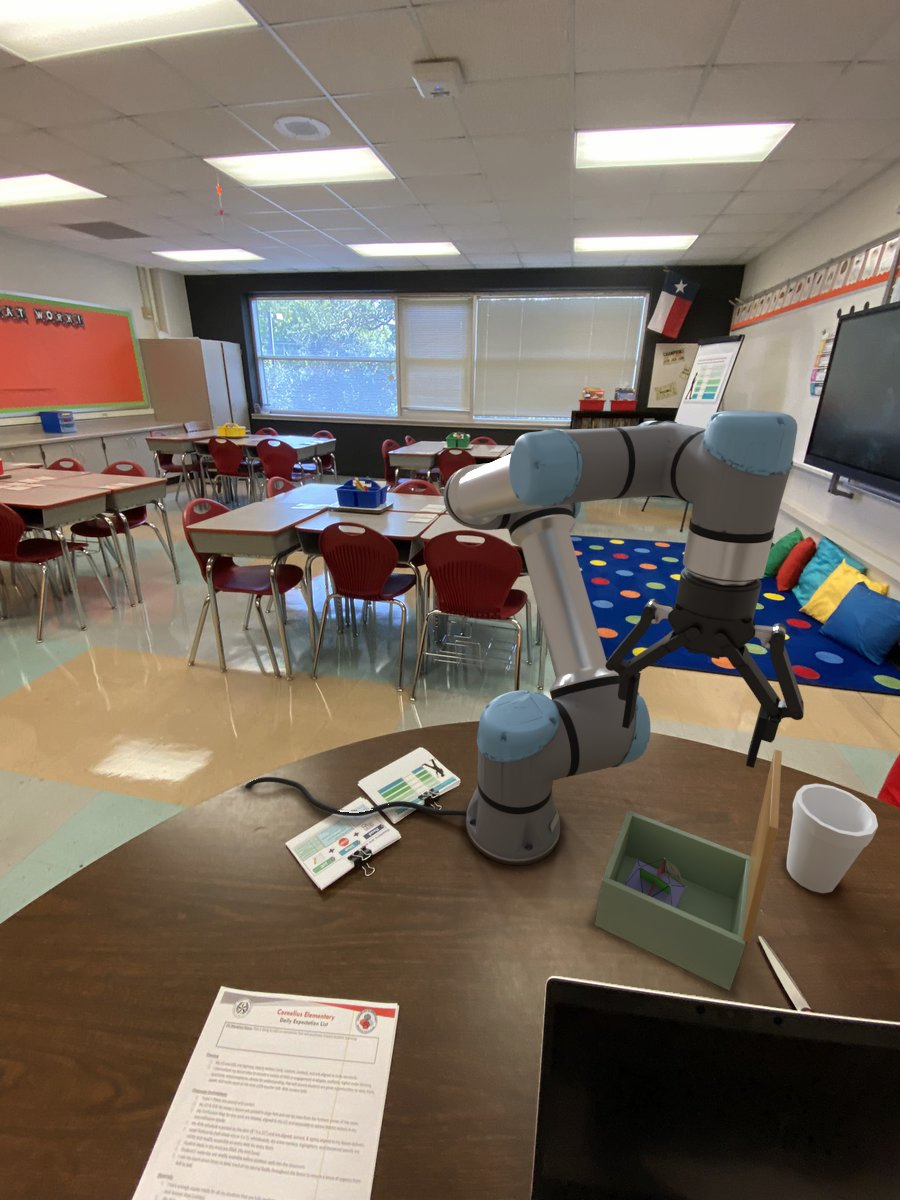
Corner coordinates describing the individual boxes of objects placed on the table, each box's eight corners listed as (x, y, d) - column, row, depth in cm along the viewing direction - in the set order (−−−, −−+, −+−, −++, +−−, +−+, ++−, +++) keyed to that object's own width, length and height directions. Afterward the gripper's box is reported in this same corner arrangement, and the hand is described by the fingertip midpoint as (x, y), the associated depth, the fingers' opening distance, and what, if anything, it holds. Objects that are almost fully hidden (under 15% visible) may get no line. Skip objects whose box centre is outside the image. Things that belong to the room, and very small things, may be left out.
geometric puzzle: (663, 935, 69) (685, 875, 69) (613, 902, 73) (634, 846, 74) (674, 924, 75) (694, 869, 75) (627, 895, 79) (646, 843, 79)
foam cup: (760, 859, 82) (781, 795, 77) (802, 839, 86) (824, 776, 80) (820, 913, 74) (848, 845, 69) (864, 888, 78) (894, 822, 72)
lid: (769, 826, 55) (778, 828, 55) (774, 748, 66) (781, 750, 65) (742, 940, 62) (750, 943, 61) (750, 853, 72) (757, 856, 72)
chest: (594, 925, 73) (601, 880, 70) (620, 852, 84) (628, 809, 80) (729, 991, 65) (745, 944, 62) (739, 901, 76) (753, 857, 72)
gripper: (868, 583, 52) (810, 757, 61) (610, 543, 64) (592, 693, 73) (875, 612, 46) (810, 800, 55) (589, 562, 58) (573, 723, 67)
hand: (686, 740), depth 64 cm, fingers open, 13 cm apart
